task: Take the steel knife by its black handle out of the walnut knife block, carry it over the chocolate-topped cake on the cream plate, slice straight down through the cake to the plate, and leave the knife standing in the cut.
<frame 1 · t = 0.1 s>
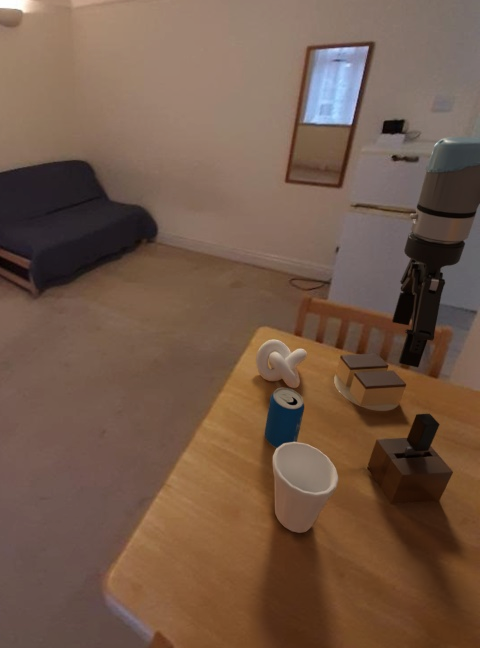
hand: (404, 342, 75), 26 cm above the table, tool pointing down, fingers open, 13 cm apart
beverage can: (279, 440, 87), on the table
knife block: (401, 483, 77), on the table
white knot sculpture: (276, 376, 104), on the table
knife: (414, 453, 73), in the knife block
cup: (292, 516, 72), on the table
plate: (365, 391, 98), on the table
cake: (366, 388, 98), resting on plate
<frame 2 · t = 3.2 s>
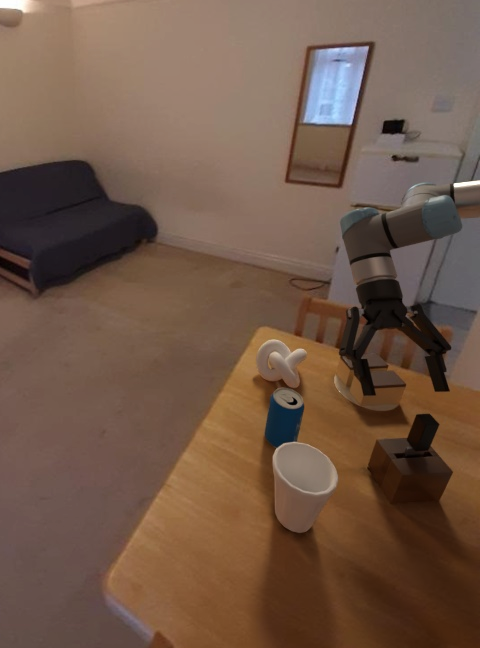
hand: (406, 393, 74), 17 cm above the table, tool tilted 45°, fingers open, 13 cm apart
nothing on the table moved.
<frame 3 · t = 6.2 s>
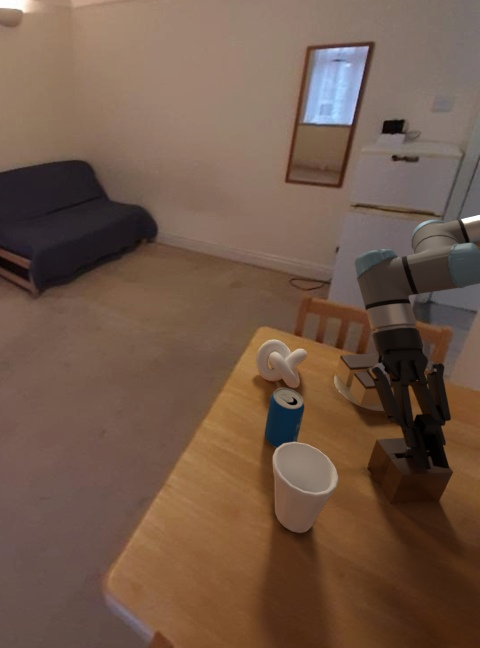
hand: (432, 467, 69), 10 cm above the table, tool tilted 45°, fingers closed on knife, 2 cm apart
knife: (414, 453, 73), in the knife block, touching gripper
everything else where it was.
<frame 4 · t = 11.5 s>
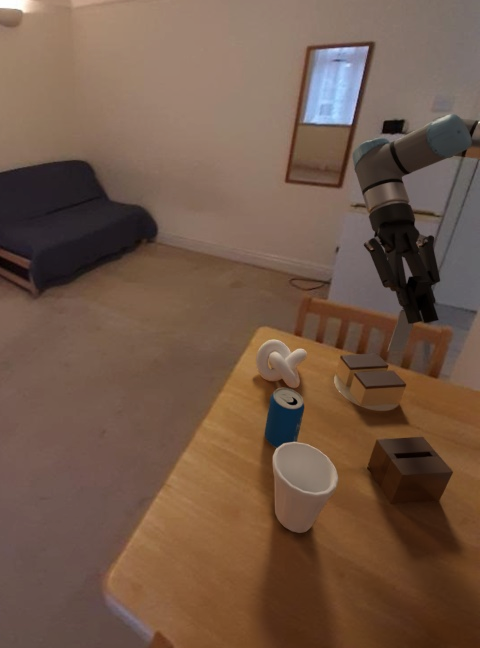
hand: (423, 321, 76), 28 cm above the table, tool tilted 45°, fingers closed on knife, 2 cm apart
knife: (407, 316, 80), point 27 cm above the table, touching gripper
everything else where it was.
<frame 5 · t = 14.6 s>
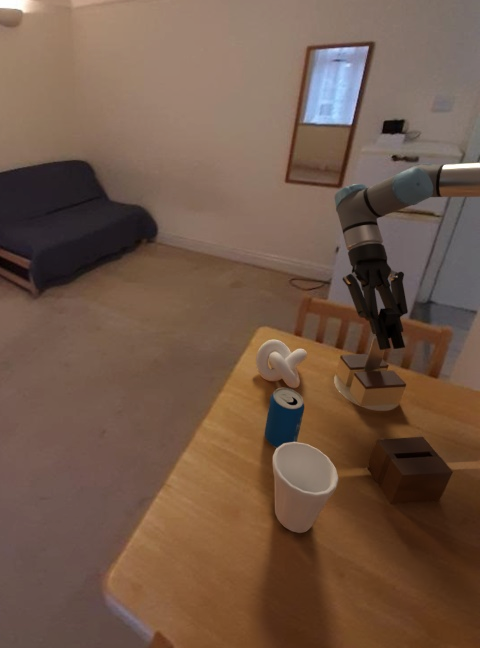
hand: (392, 348, 88), 16 cm above the table, tool tilted 45°, fingers closed on knife, 2 cm apart
knife: (379, 342, 92), point 15 cm above the table, touching gripper
everything else where it was.
when the fingers open (11 cm above the table, at t = 16.9 s): knife stays where it is, resting on plate.
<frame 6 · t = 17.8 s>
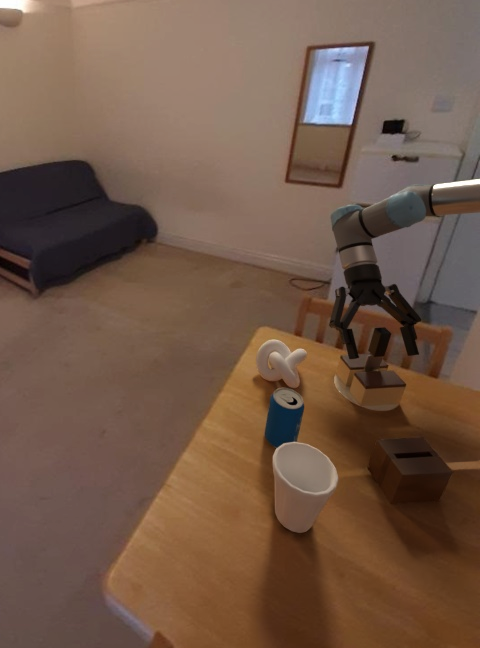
hand: (383, 357, 91), 12 cm above the table, tool tilted 45°, fingers open, 13 cm apart
knife: (374, 360, 94), on the plate, point 10 cm above the table
everything else where it was.
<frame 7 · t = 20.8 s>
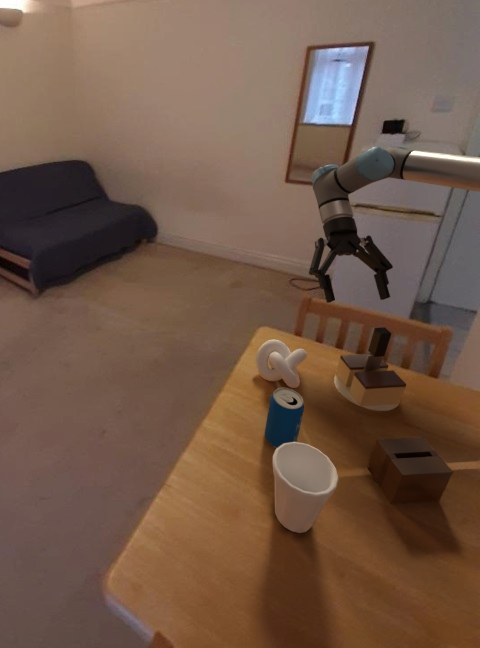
hand: (358, 300, 99), 20 cm above the table, tool tilted 45°, fingers open, 13 cm apart
nothing on the table moved.
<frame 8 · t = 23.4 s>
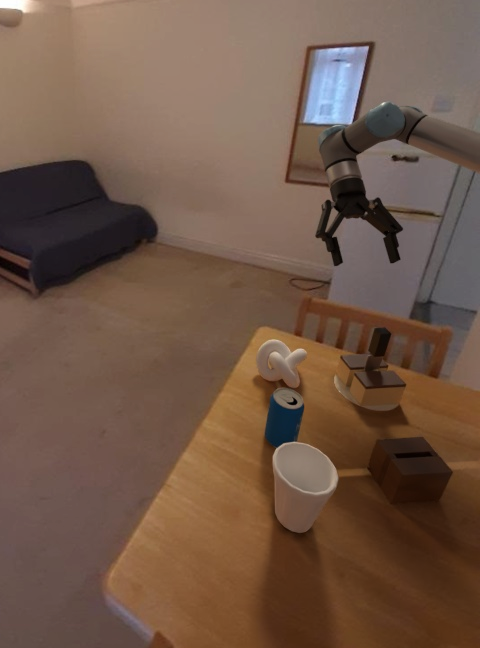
hand: (367, 263, 95), 30 cm above the table, tool tilted 45°, fingers open, 13 cm apart
nothing on the table moved.
at the end: knife 0.1 cm off-centre on the cake, point 8.5 cm above the cake's base; the gripper is holding nothing; knife moved 24.6 cm from its start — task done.
